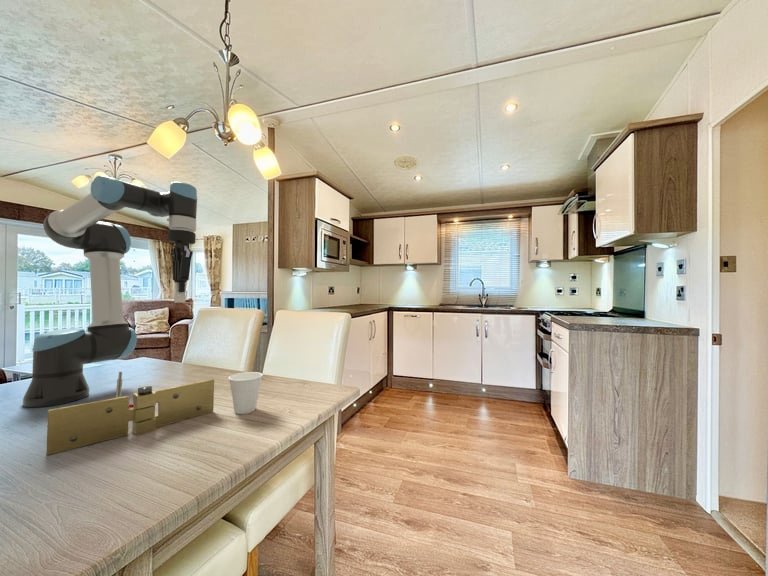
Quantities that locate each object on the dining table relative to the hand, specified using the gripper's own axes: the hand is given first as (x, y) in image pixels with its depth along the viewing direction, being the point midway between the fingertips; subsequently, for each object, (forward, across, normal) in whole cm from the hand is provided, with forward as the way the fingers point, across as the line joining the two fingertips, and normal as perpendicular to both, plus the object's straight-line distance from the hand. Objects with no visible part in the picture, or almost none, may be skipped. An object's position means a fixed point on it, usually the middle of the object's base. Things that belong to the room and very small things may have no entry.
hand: (179, 302), depth 98 cm
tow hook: (+34, -6, -11) cm, 36 cm away
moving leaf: (+34, +14, -19) cm, 41 cm away
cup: (+34, +21, +13) cm, 42 cm away
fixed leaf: (+34, +14, -4) cm, 37 cm away
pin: (+34, +14, -11) cm, 38 cm away
